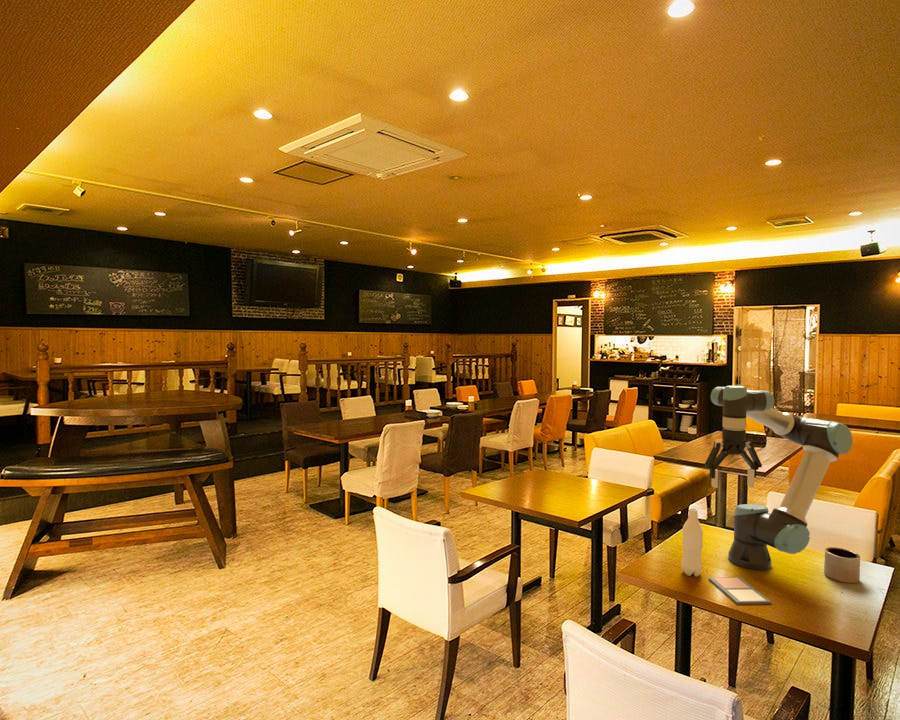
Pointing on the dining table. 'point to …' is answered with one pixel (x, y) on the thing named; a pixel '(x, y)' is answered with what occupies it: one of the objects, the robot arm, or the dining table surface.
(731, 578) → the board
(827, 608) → the dining table surface
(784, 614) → the dining table surface
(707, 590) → the dining table surface
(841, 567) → the planter
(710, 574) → the dining table surface
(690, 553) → the water bottle
